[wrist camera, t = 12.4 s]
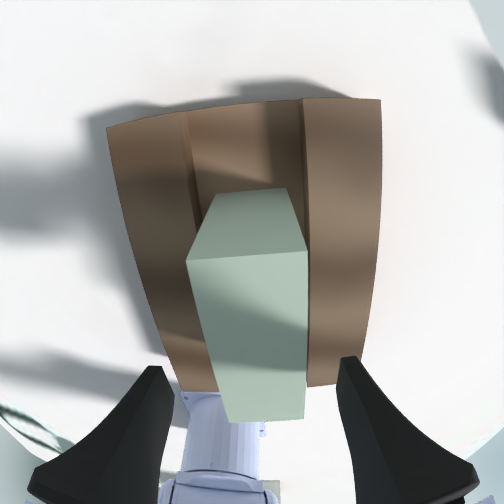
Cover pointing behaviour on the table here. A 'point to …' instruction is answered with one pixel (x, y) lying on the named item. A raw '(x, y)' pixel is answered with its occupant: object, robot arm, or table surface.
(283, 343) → the pale green block
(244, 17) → the table surface
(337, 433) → the table surface
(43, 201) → the table surface
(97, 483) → the robot arm
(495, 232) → the table surface
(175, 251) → the slot stand
